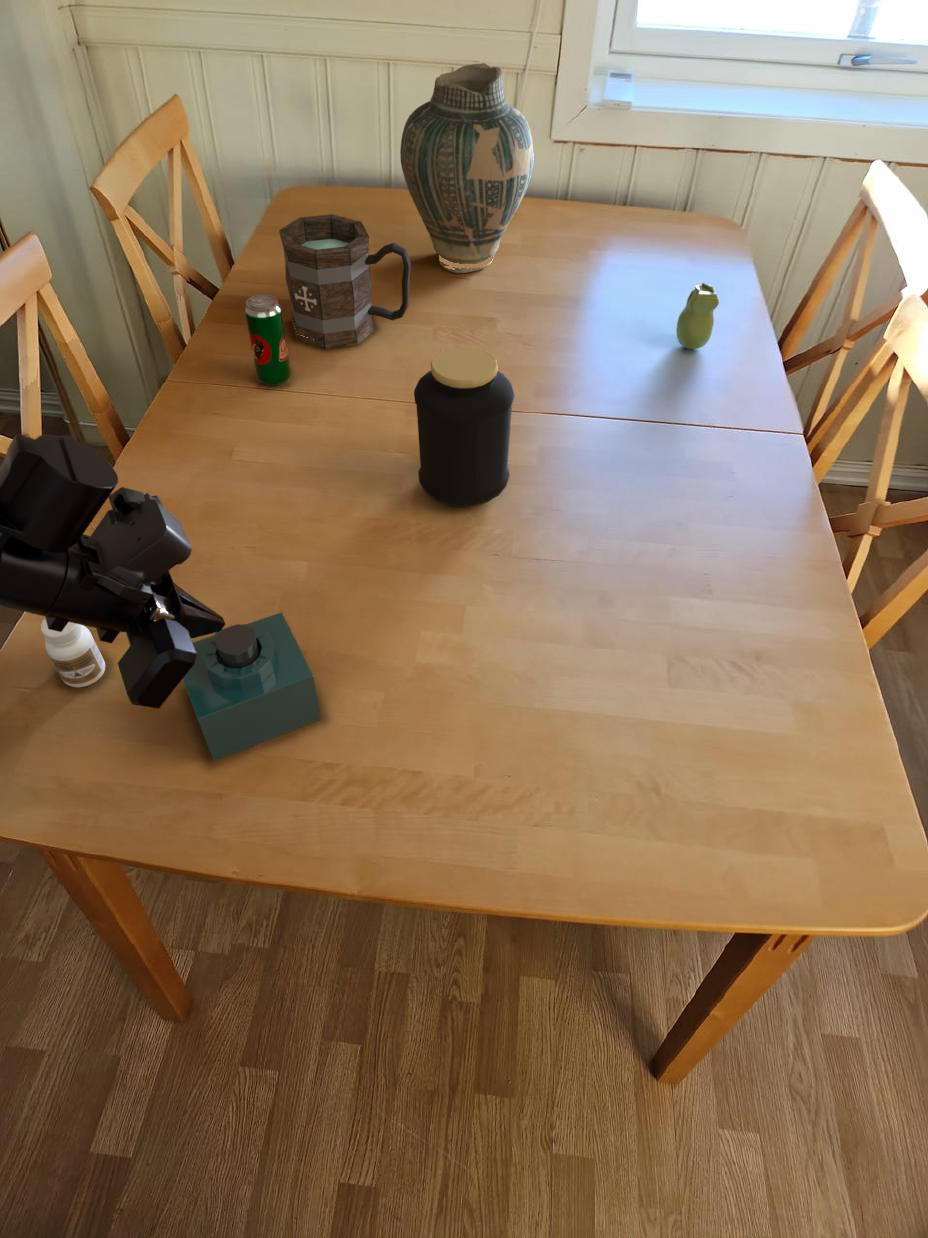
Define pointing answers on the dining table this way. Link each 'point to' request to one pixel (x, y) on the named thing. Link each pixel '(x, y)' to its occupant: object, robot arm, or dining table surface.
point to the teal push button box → (252, 690)
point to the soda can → (268, 339)
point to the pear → (697, 317)
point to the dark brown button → (237, 646)
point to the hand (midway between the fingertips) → (221, 624)
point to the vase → (467, 163)
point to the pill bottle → (74, 654)
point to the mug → (334, 280)
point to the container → (464, 427)
